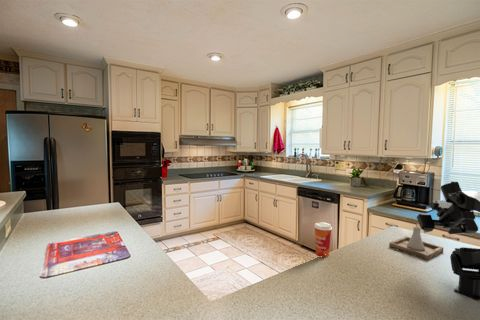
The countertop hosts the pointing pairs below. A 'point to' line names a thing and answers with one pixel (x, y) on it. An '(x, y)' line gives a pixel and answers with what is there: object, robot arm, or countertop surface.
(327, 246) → the paper cup
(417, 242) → the flask
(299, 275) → the countertop surface
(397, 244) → the walnut tray
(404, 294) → the countertop surface
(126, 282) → the countertop surface
